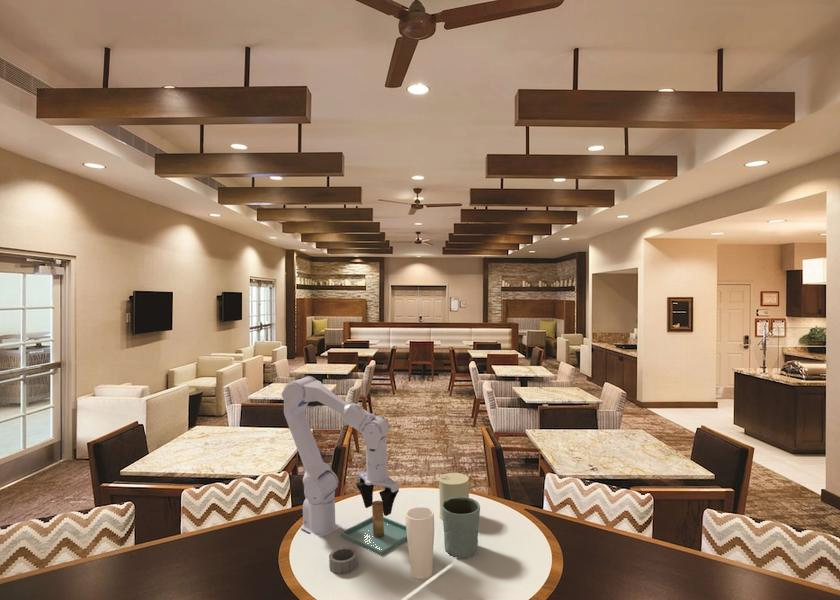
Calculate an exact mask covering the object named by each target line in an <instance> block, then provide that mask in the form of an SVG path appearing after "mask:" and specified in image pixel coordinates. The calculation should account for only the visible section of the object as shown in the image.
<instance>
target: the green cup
mask: <svg viewBox="0 0 840 600" xmlns="http://www.w3.org/2000/svg"><path fill="white" fill-rule="evenodd" d="M480 514H481V505H480V503H479V502H478V501H477V500H476V499H473V498H471V497H469V498H467V497H452V498H449V499H447V500H445V501H444V502H443V503H442V516H443V520H442V525H443V526H442V527H443V535H444V536H443V537H444V538H443V539H444V541H443V542H444V551H445V553H446V552H447V553H448V554H449V555H448V554H447V553H446V554H447V555H448V556H449V557H451V556H453V557H452V558H454V557H457V558H456V559H468V557H469V558H472V557H474V556H475V555H476V554H477V553H478V546H479V545H478V544H479V538H478V537H479V526H480V518H481V517H480Z"/></svg>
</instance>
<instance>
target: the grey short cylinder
mask: <svg viewBox="0 0 840 600" xmlns="http://www.w3.org/2000/svg"><path fill="white" fill-rule="evenodd" d="M358 558H359V557H358V551H357V550H356V549H354V548H353V547H349V546H347V547H346V546H345V547H344V546H342V547H338V548H336V549H334V550H332V551H331V552H330V553H329V555H328V563H329V564H328V565H329V566H328V567H329V570H330V572H332V573H333V574H337V575H345V574H349V573H351V572H354V571H355V570H356V569H357V567H358V566H359V565H358V563H359V561H358Z"/></svg>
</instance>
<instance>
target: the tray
mask: <svg viewBox="0 0 840 600" xmlns="http://www.w3.org/2000/svg"><path fill="white" fill-rule="evenodd" d="M383 518H384V536H383V537H380V538H376V537H374V536H373V515H372V516H370V517H369V518H366V519H365V520H363V521H361V522H359V523H357V524H355V525H353V526H351V527H349V528H347V529H345V530H343V531H341V532H340V537H342V538H344V539H346V540H347V541H349V542H351V543H353V544H356V545H358V546H360V547H362V548H364V549H366V548H367V549H366V550H368V549H369V550H368V551H370V550H371V551H370V552H372V551H373V552H372V553H374V552H375V553H374V554H376V553H377V554H376V555H378V554H379V555H378V556H380V555H381V556H383V555H385V554H386V553H388V552H390V551H391V550H393V549H395V548H396V547H398V546H399V545H401V544H403V543H404V542H408V541H407V532H406V524H405V525H404V524H402V523H399V522H398V521H394V520H393V519H390V518H388V517H386V516H383ZM387 524H388V525H387ZM368 530H369V531H368ZM365 533H366V534H365ZM367 534H368V536H369V535H370V538H371V539H370V538H369V537H368V539H367V540H369V539H370V542H371V543H369V541H368V542H366V543H365V541H367V540H365V539H366V538H367V537H366V538H364V537H365V536H366V535H367ZM364 535H365V536H364ZM372 536H373V537H372ZM364 540H365V541H364ZM371 540H372V541H371ZM373 542H374V543H373ZM367 543H369V544H367ZM375 544H376V545H375ZM371 545H372V546H371ZM373 545H374V546H373ZM376 546H378V547H377V548H379V547H380V550H379V549H377V548H375V547H376ZM381 549H382V550H381Z"/></svg>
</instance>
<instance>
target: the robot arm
mask: <svg viewBox="0 0 840 600" xmlns="http://www.w3.org/2000/svg"><path fill="white" fill-rule="evenodd" d="M281 397H282V399H283V415H284V418H285V420H286V423H287V426H288V429H289V431H290V434H291V436H292V439H293V442H294V444H295V446H296V449H297V452H298V454H299V457H300V460H301V463H302V466H303V468H304V471H305V472H304V474H303V478H302V483H303V492H304V493H303V494H304V497H305V499H304V501H303V504H302V526H301V527H300V530H303V531H304V532H306V533H309V534H313V535H314V536H316V537H319V538H322V537H325V536H327V535H328V534H330V533H332V532H334V531H336V530H338V529H340V528H343V527H342V525H340V524H338V523H337V522H336V504H335V503H336V497H335V494H336V492H335V491H336V489H337V488H338V487H339V479H338V476H337V474H336V473H335V472H334V471H333V470H332V468H331V466H330V464H328V463H326V462H324V460H323V457H322V455H321V452H320V450H319V447H318V445H317V441H316V439H315V436H314V434H313V431H312V429H311V426H310V423H309V422H308V418H307V416H306V413H305V411H306V409H307V407H308V405H309V403H311V402H319V403H320V404H322V405H324V406H326V407H327V408H330V409H331V410H333V412H336V413H338V414H339V415H341V419H342V421H343V422H344V423H346V424H347V425H349V426H350V427H352V428H353V429H355V430H357V431H358V432H360V433H361V436H362V438H363V439H364V441H365V457H366V461H365V463H366V464H365V465H366V466H365V467H366V471H363V470H361V471H358V472H356V479H357V480H358V481H359V482H356V488H357V489H358V490H359V493H360V495H361V497H362V501H363V505H364V508H365V509H369V508H370V507H372V502H374V501H373V499H374V496H373V495H374V488H375V486H378V487H382V488H384V489H383V490H381V491H379V492H378V495H379V497H380V499H381V501H382V503H383V517H387V516H390V515H391V514H392V511H393V506H394V502H395V499H396V496H397V495H398V493H399V492H400V490H399V489H400V488H399V482H396V481H394V480H393V479H392V478H391V477H389V476H388V452H387V451H388V450H387V434H388V433H389V430H390V425H389V422H388V420H387V419H386V418H385V417H384V416H381V415H375V413H370V412H369V411H367V410H366V409H364V408H363V407H362V404H360V403H355V402H352V403H347V402H346V401H345V400H343V399H342V398H340V397H339V396H338V395H337V394H335V393H334V392H332V391H331V390H330V389H328V388H327V387H326V386H325V385H324V384H323V383H322V381H320V380H317V379H316V378H315V377H313V376H310V375H307V376H304V377H303V378H300V379H296V380H294V381H289V382H288V383H286V384H285V386H284V387H283V390H282V392H281Z"/></svg>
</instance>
